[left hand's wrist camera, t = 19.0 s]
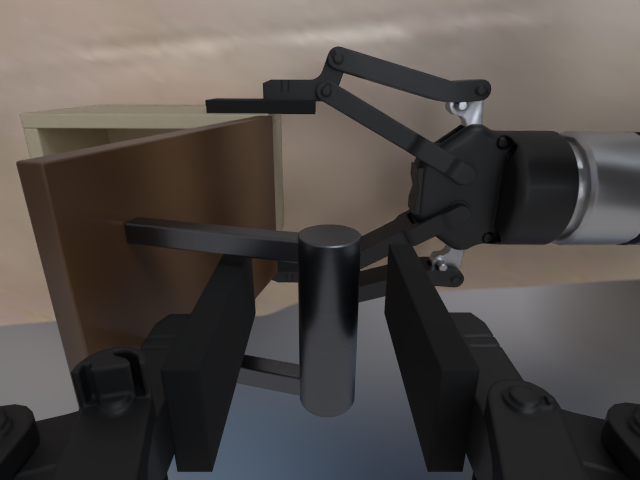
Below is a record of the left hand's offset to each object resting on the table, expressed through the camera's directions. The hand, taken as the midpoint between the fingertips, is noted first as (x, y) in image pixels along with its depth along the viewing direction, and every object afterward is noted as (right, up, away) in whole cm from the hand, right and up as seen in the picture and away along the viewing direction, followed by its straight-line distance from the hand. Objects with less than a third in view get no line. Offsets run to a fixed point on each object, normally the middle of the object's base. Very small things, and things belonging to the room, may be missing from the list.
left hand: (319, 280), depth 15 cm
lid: (-5, +1, +4) cm, 7 cm away
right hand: (-7, +5, +13) cm, 16 cm away
